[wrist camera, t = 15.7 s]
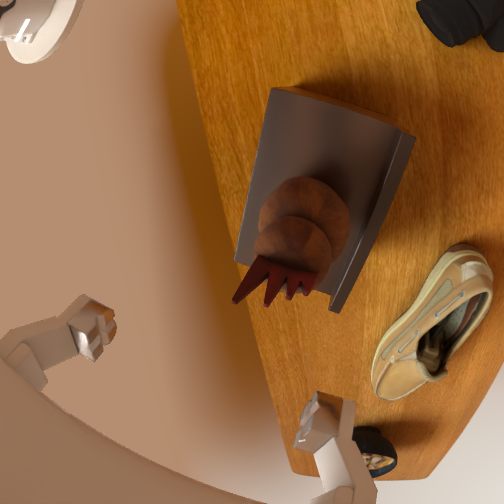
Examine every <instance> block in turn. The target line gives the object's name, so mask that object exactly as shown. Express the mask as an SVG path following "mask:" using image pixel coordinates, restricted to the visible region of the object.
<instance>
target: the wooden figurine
mask: <svg viewBox="0 0 504 504" xmlns="http://www.w3.org/2000/svg"><path fill="white" fill-rule="evenodd" d="M258 229H259V232H260V234H259V235H258V237H257V239H256V241H255V245H254V262H253V264H252V265H251V267H250V269H249V270H248V272H247V274H246V276H245V277H244V279H243V281H242V282H241V284H240V286H239V288H238V290H237V291H236V293H235V295H234V297H233V298H232V303H233V304H237V303H239V302H240V301H241V300H242V299H244V298H245V297H246V296H247V295H248V294H249V293H251V292H252V291H253V290H254V289H255V288H256V287H258V286H259V285H260V284H261V283H262V282H263V281H265V282H266V283H267V288H266V293H265V298H264V304H263V306H264V307H269V305H270V304H271V302H272V301H273V299H274V298H275V297H276V295H277V294H278V292H279V291H280V292H284V293H286V299H287V300H291V299H292V297H293V296H294V294H295V293H303V295H304V296H308V295H309V293H310V292H311V291H312V290H315V289H316V288H317V287H318V286H319V285H320V283H321V282H322V281H323V280H324V279H325V278H326V277H327V274H328V270H329V267H330V265H331V264H333V263H334V262H335V260H336V259H337V258H338V257H339V255H340V254H341V253H342V251H343V250H344V248H345V245H346V242H347V239H348V236H349V233H350V217H349V209H348V208H347V206H346V204H345V203H344V202H343V201H342V200H341V198H340V197H339V196H338V194H337V193H336V192H335V191H334V190H333V189H331V188H330V187H329V186H328V185H327V184H325V183H323V182H321V181H319V180H317V179H314V178H310V177H307V176H298V177H293V178H289V179H286V180H285V181H284V182H283V183H282V184H281V185H280V186H278V187H277V188H276V189H275V190H274V191H273V192H272V193H271V194H270V196H269V197H268V198H267V200H266V201H265V203H264V204H263V206H262V208H261V209H260V214H259V222H258Z"/></svg>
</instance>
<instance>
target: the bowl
mask: <svg viewBox="0 0 504 504" xmlns="http://www.w3.org/2000/svg"><path fill="white" fill-rule="evenodd" d="M352 441H355V442H356V444H357V447H358V449H359V451H360V453H361V455H362V457H363V460H364V462H365V464H366V466H367V468H368V470H369V473H370V475H371V477H372V478H375V477H378V476H381V475H384V474H386V473H388V472H390V471H391V470H392V469H394V468H395V466H396V465H397V453H396V451H395V449H394V447H393V445H392V444H391V443H390V442H389V441H388V440H387V439H386V438H385V437H383V436H382V434H381V432H380V431H379V430H378V429H376V428H372V427H365V426H362V427H355V428H353V433H352Z"/></svg>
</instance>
